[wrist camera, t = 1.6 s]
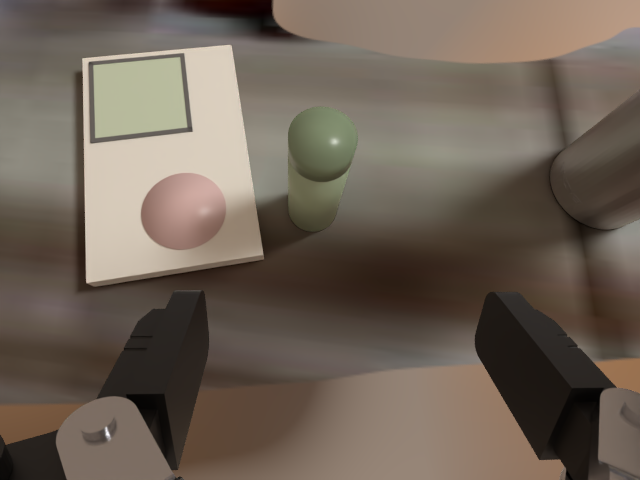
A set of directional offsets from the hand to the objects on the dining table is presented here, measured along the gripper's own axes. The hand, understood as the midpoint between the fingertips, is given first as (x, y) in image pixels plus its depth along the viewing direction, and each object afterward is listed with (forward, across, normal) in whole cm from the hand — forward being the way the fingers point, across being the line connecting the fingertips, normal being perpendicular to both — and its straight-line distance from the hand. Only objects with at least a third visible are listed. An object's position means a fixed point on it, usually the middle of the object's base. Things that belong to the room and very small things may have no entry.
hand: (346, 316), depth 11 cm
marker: (+25, 0, +7) cm, 26 cm away
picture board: (+28, +13, +4) cm, 31 cm away
